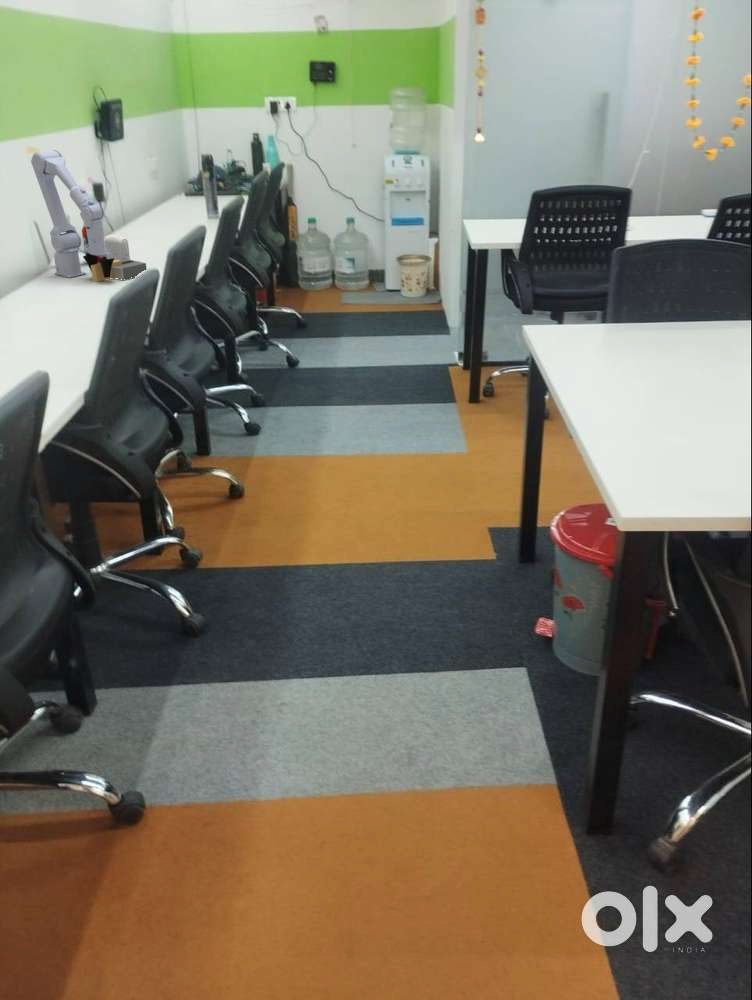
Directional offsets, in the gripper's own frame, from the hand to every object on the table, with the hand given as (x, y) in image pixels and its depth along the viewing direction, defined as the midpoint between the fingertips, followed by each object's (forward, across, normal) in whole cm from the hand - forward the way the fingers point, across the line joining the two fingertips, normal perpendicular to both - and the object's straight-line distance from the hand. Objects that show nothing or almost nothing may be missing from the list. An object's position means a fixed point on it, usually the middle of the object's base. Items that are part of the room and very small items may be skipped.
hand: (101, 275), depth 317 cm
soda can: (+2, +25, -16) cm, 30 cm away
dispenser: (+2, 0, -10) cm, 11 cm away
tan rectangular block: (+2, 0, -3) cm, 3 cm away
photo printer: (+2, +13, -18) cm, 22 cm away
